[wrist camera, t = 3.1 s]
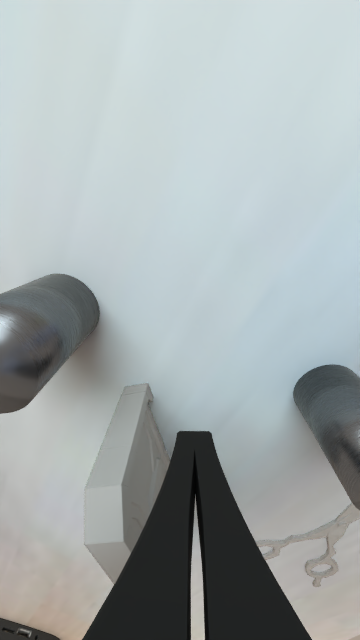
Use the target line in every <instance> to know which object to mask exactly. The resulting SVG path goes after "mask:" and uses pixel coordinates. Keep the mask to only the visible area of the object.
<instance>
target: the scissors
mask: <svg viewBox="0 0 360 640" xmlns="http://www.w3.org/2000/svg"><path fill="white" fill-rule="evenodd" d="M358 519H360V510H358V509H357V508H356V507H355V506H354V505H353V503H351V504H350V505H349V506H348V507H347V508H346V509H345V510H344V511H343V512H342V513H341V514H340V515H339V516H338V517H337V518H336V519H335V520H334V521H331V522H329V523H327V524H325V525H323V526H321V527H319V528H318V529H315V530H313V531H311V532H308V533H306V534H303V535H291V536H290V537H288V538H286V539H285V540H280V541H271V540H263V541H257V542H256V544H257V546H258V547H261V546H269V547H273V550H272V551H270V552H268V553H266V554H263V557H264V559H265V560H267V559H271V558H274V557H276V556H278V555H279V553H280V548H282V547H285V546H286V545H288V544H290V543H294V542H299V541H304V540H310V539H319V538H325V537H327V544H328V549H327V551H326V553H325V554H324V555H322V556H321V557H320V558H317V559H313V560H309V561H307V563H306V564H305V569H306V572H307V574H308V575H309V576H311V577H314V578H315V580H314V581H313V586H314V587H319V586H321V585H320V582H321V579H322V578H326V577H329V576H331V575H333V574H335V573H336V572H337V571H338V566H337V563H336V562H335V560H333V559H332V558H331V557H332V556H333V555H334V554H336V551H335V549H334V548H333V545H334V544H335V543H336V542H337V541H338V540H339V539H340V538H341V537H342V536H343V535H344V533H345V531H346V529H347V527H348V525H349V524H350V523H352V522H354V521H356V520H358ZM320 564H328V565H331V568H330V569H328V570H326V571H324V572H313V571H311V569H312V568H314V567H315V566H317V565H320Z"/></svg>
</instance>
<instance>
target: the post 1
mask: <svg viewBox="0 0 360 640" xmlns="http://www.w3.org/2000/svg"><path fill="white" fill-rule="evenodd" d="M98 320H99V306H98V302H97V300H96V298H95V296H94V294H93V293H92V291H91V290H90V289H89V288H88V287H87V286H86V285H85V284H84V283H83V282H81V281H80V280H78V279H76V278H74V277H72V276H69V275H65V274H51V275H47V276H44V277H42V278H39V279H37V280H34V281H32V282H29V283H27V284H24V285H22V286H19V287H17V288H14V289H12V290H9V291H7V292H4V293H2V294H0V414H1V413H10V412H14V411H17V410H20V409H22V408H24V407H25V406H26V405H28V404H29V403H30V402H31V401H32V399H33V398H34V397H35V396H36V395H37V394H38V393H39V391H40V390H41V389H42V388H43V387H44V386H45V385H46V383H47V382H48V381H49V380H50V379H51V378H52V377H53V375H54V374H55V373H56V372H57V371H58V370H59V369H60V367H61V366H62V365H63V364H64V363H65V362H66V360H67V359H68V358H69V357H70V356H71V355H72V354H73V352H74V351H75V350H76V349H77V348H78V347H79V346H80V344H81V343H82V342H83V341H84V340H85V339H86V338H87V336H88V335H89V334H90V333H91V332H92V331H93V330H94V328H95V327H96V325H97V323H98Z"/></svg>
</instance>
